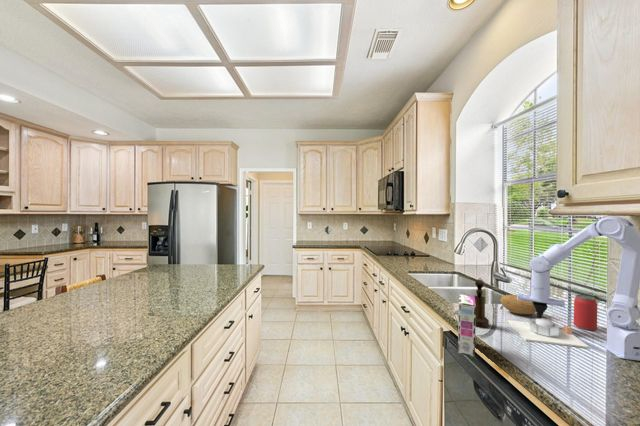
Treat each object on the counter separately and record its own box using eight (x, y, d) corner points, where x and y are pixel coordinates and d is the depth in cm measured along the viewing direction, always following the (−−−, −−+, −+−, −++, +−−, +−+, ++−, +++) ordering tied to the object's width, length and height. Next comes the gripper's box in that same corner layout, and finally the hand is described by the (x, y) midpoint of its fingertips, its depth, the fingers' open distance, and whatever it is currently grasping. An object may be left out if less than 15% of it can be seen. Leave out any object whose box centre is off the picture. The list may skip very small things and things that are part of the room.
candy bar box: (475, 357, 85) (476, 305, 85) (457, 354, 87) (458, 303, 87) (474, 342, 95) (474, 295, 95) (458, 339, 97) (458, 293, 97)
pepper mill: (478, 320, 114) (478, 277, 113) (492, 326, 107) (493, 281, 107) (466, 322, 111) (466, 278, 111) (479, 328, 105) (480, 282, 105)
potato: (498, 307, 128) (498, 290, 128) (535, 312, 122) (535, 294, 122) (502, 314, 119) (502, 296, 119) (542, 320, 113) (542, 301, 113)
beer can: (601, 332, 103) (602, 300, 103) (581, 330, 104) (581, 299, 104) (588, 324, 109) (589, 295, 109) (569, 323, 111) (569, 294, 110)
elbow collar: (558, 338, 95) (558, 329, 95) (528, 331, 101) (528, 322, 101) (560, 326, 105) (560, 318, 105) (532, 320, 111) (532, 312, 111)
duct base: (589, 348, 91) (589, 334, 91) (525, 340, 96) (525, 327, 96) (560, 327, 107) (560, 315, 107) (507, 321, 112) (507, 310, 112)
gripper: (561, 287, 107) (560, 321, 107) (516, 281, 114) (515, 314, 114) (566, 292, 101) (565, 328, 101) (518, 286, 108) (517, 320, 108)
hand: (539, 321), depth 107 cm, fingers closed, pressing on elbow collar
